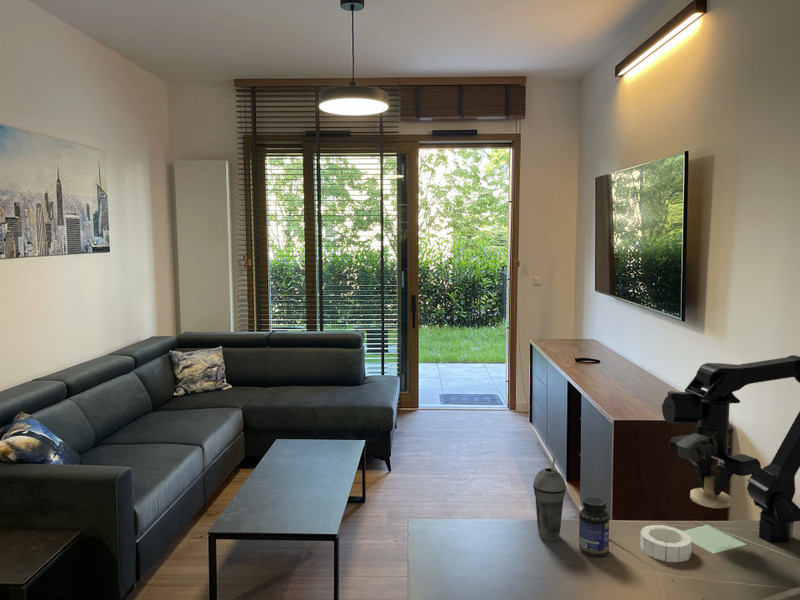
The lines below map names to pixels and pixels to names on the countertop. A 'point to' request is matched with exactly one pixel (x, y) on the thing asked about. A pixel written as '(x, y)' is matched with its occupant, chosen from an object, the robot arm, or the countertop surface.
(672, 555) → the white faceted ring
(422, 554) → the countertop surface
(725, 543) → the mat
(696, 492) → the lid
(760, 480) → the robot arm
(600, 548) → the pill bottle
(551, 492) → the beverage cup
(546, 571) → the countertop surface
